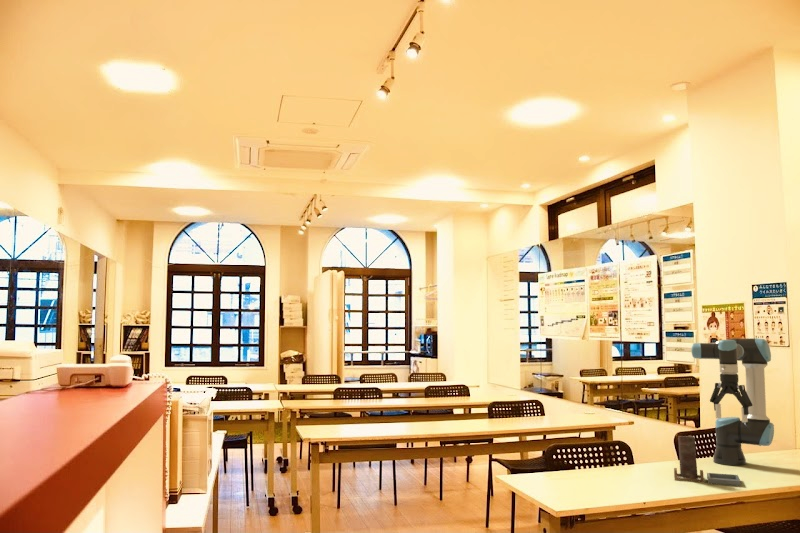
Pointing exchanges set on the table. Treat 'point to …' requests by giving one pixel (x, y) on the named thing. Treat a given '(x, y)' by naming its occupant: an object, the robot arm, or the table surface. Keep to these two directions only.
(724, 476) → the tray
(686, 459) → the dark brown tall block
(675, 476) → the cradle
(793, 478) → the table surface
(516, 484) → the table surface
